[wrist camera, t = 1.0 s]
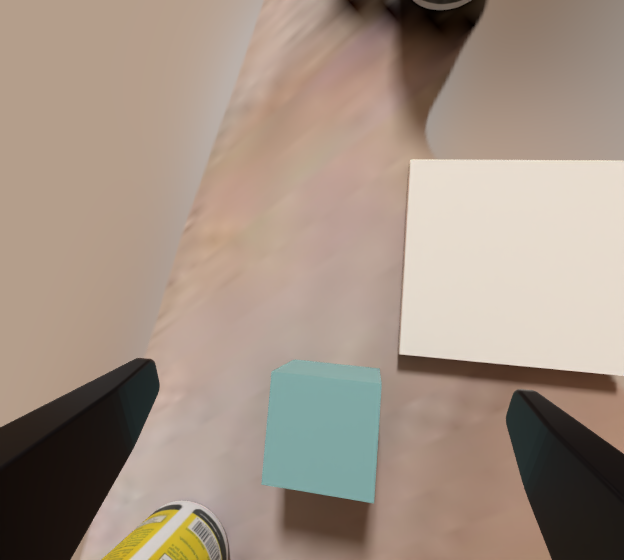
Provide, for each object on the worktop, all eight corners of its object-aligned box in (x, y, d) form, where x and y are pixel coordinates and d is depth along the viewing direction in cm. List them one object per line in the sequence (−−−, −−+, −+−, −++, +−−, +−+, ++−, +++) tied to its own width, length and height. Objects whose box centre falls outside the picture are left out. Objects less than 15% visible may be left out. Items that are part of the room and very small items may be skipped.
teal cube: (373, 458, 20) (374, 503, 15) (287, 445, 21) (261, 484, 16) (379, 368, 21) (381, 383, 16) (294, 359, 22) (271, 371, 17)
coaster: (616, 373, 19) (629, 376, 18) (398, 352, 21) (399, 354, 20) (616, 168, 20) (629, 160, 19) (408, 166, 22) (410, 159, 21)
